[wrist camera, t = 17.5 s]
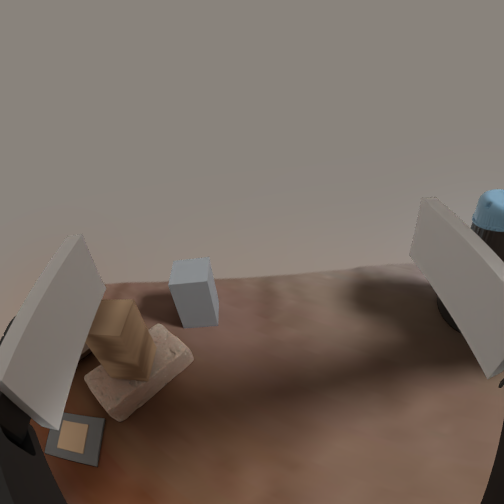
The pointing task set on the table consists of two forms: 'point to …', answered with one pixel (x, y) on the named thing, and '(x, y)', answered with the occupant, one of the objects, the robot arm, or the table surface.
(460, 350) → the table surface
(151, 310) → the table surface
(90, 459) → the card
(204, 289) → the slate block
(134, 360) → the walnut block
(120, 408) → the brick
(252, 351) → the table surface
